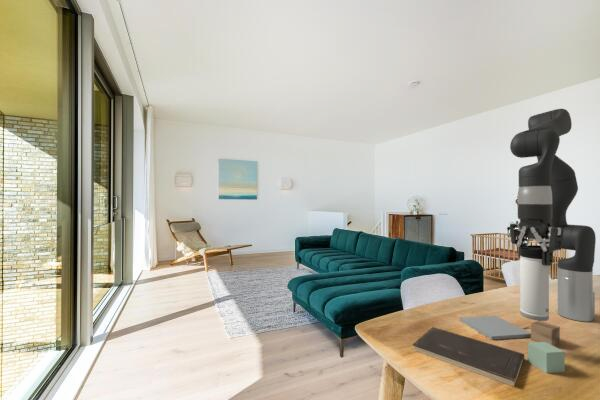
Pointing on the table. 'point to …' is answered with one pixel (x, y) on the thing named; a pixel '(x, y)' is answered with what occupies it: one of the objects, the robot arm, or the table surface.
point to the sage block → (546, 357)
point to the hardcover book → (471, 354)
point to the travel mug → (533, 284)
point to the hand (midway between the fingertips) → (534, 262)
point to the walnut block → (545, 333)
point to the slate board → (495, 327)
